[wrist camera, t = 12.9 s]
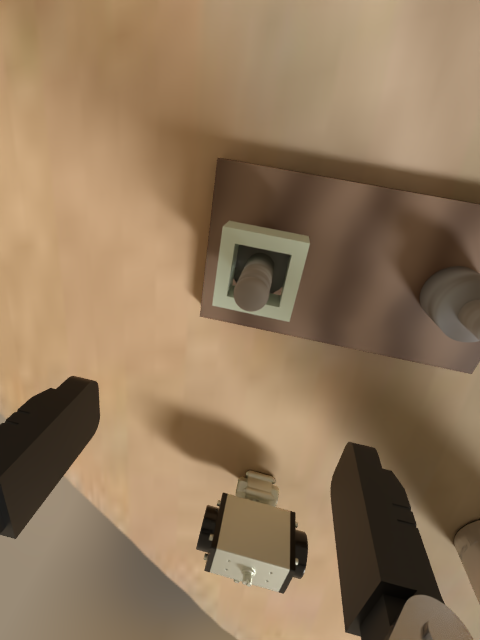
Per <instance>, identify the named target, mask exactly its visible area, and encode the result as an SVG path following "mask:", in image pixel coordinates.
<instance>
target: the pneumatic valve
mask: <svg viewBox="0 0 480 640" xmlns="http://www.w3.org/2000/svg"><path fill="white" fill-rule="evenodd" d="M246 476H247V478H244V477H240V478H239V480H238V484H237V489H236V496H234V495H230V494H226V493H223V494H222V497H221V501H220V500H218V502H217V506H219V508H217V507H213V506H210V505H207V507H206V511H205V515H204V519H203V523H202V527H201V531H200V535H199V539H198V543H197V547H196V549H197V550H200V551H204V552H207V553H208V554H206V553H205V556H204V560H207V561H206V566H205V570H204V571H207V572H211V573H214V574H217V575H221V576H224V577H228V578H231V579H234V582H235V583H239V582H240V581H242V583H243V584H244V585H245V584H246V585H247V586H249V587H250V586H251V585H255V586H259V587H262V588H266V589H269V590H273V591H276V592H280V593H283V594H284V592H285V590H286V589H287V587H288V585H289V583H290V581H291V579H292V577H295V578H298V579H301V578H302V577H303V575H304V572H305V568H306V563H307V554H308V541H307V535H306V533H305V532H303V531H299V530H296V529H295V527H296V528H297V526H298V522H295V512H292V511H288V510H284V509H281V508H277V507H275V506H276V504H277V501H278V495H279V488H278V487H277V486H274V485H272V484H274V483H275V482H276V480H275V479H274V478H273V476H269V475H265V474H262V473H258V472H254V471H251V470H249V471H247V472H246Z"/></svg>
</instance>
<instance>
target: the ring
mask: <svg viewBox="0 0 480 640" xmlns="http://www.w3.org/2000/svg"><path fill="white" fill-rule="evenodd" d="M239 244H240V245H245V246H250V247H255V248H260V249H265V250H270V251H275V252H280V253H285V254H290V257H289V262H288V266H287V270H286V274H285V278H284V283H283V287H282V291H281V295H277V294H272V293H269V298H268V301H267V303H266V304H265V306H264V307H263V308H261V309H260V310H257V311H253V312H249V311H245V310H243V309H241V308H240V307H239V306H238V305H237V304H236V302H235V300H234V295H233V293H234V288H235V286H234V285H233V278H234V272H235V266H236V260H237V254H238V247H239ZM309 246H310V241H309V236H306V235H300V234H295V233H290V232H285V231H280V230H275V229H270V228H265V227H259V226H254V225H249V224H244V223H239V222H234V221H228V222H227V223H226V224H225V225H224V226H223V228H222V236H221V243H220V250H219V258H218V265H217V273H216V280H215V288H214V295H213V303H212V306H217V307H221V308H226V309H231V310H235V311H240V312H245V313H249V314H254V315H259V316H264V317H268V318H273V319H278V320H282V321H287V322H290V318H291V314H292V310H293V307H294V303H295V299H296V295H297V291H298V288H299V284H300V280H301V276H302V272H303V269H304V265H305V261H306V257H307V253H308V249H309Z"/></svg>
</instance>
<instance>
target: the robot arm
mask: <svg viewBox="0 0 480 640" xmlns="http://www.w3.org/2000/svg"><path fill="white" fill-rule="evenodd" d="M99 420H100V408H99V388H98V383H97V382H96V381H93V380H89V379H84V378H80V377H76V376H71V377H69V378H68V379H67V380H66V381H64V382H63V383H62V384H61V385H60V386H59V387H58V388H57V389H52V388H49V389H47V390H45V391H43V392H41V393H39V394H37V395H35V396H33V397H32V398H30V399H29V400H28V401H27V402H26V403H25V404H24V405H22V406H21V407H20V408H19V409H18V411H17V412H14V413H13V414H12V415H11V416H10V417H9V418H8V419H6V421H5V423H2V424H1V425H0V535H3V536H7V537H11V538H14V539H16V538H17V537H18V535H19V534H20V533H21V531H22V530H23V529H24V527H25V526H26V525H27V523H28V522H29V520H30V519H31V518H32V517H33V515H34V514H35V512H36V511H37V510H38V509H39V507H40V506H41V505H42V503H43V502H44V501H45V499H46V498H47V497H48V495H49V494H50V493H51V491H52V490H53V489H54V487H55V486H56V485H57V483H58V482H59V481H60V479H61V478H62V477H63V475H64V474H65V473H66V471H67V470H68V469H69V467H70V466H71V465H72V463H73V462H74V461H75V459H76V458H77V457H78V455H79V454H80V453H81V452H82V450H83V449H84V448H85V446H86V445H87V444H88V442H89V441H90V440H91V438H92V437H93V435H94V434H95V432H96V430H97V427H98V424H99ZM331 504H332V513H333V522H334V532H335V541H336V550H337V559H338V568H339V578H340V587H341V596H342V605H343V614H344V623H345V632H346V633H350V634H354V635H357V636H361V640H473V638H472V636H471V634H470V633H469V631H468V629H467V628H466V627H465V625H464V624H463V622H462V621H461V620H460V619H459V618H458V616H457V615H456V614H455V613H454V612H453V611H452V610H451V609H449V608H448V607H447V606H446V605H445V603H444V601H443V599H442V597H441V594H440V591H439V588H438V586H437V583H436V580H435V577H434V574H433V571H432V568H431V565H430V562H429V559H428V556H427V553H426V550H425V548H424V545H423V542H422V539H421V536H420V533H419V530H418V528H416V521H415V518H414V515H413V512H411V507H410V504H409V501H408V498H407V495H406V492H405V489H404V487H403V486H402V485H401V483H400V482H399V480H398V479H397V478H396V476H395V475H394V473H393V472H392V471H390V470H386V469H382V466H381V463H380V459H379V456H378V453H377V450H376V449H375V448H373V447H369V446H364V445H360V444H356V443H352V442H348V443H347V445H346V446H345V449H344V451H343V453H342V456H341V458H340V460H339V462H338V465H337V467H336V469H335V472H334V474H333V477H332V481H331ZM454 544H455V547H456V550H457V552H458V555H459V557H460V559H461V562H462V564H463V566H464V569H465V571H466V573H467V576H468V578H469V581H470V583H471V585H472V588H473V590H474V592H475V595H476V597H477V599H478V602H479V604H480V520H479V521H475V522H473V523H470V524H468V525H466V526H465V527H463V528H461V529H460V530H459V531H458V532H457V534H456V536H455V539H454Z"/></svg>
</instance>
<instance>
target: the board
mask: <svg viewBox="0 0 480 640" xmlns="http://www.w3.org/2000/svg"><path fill="white" fill-rule="evenodd" d="M228 221H234V222H239V223H244V224H249V225H254V226H259V227H265V228H270V229H275V230H280V231H285V232H290V233H295V234H300V235H306V236H309V241H310V246H309V249H308V253H307V257H306V261H305V265H304V269H303V272H302V276H301V280H300V284H299V288H298V291H297V295H296V299H295V303H294V307H293V310H292V314H291V318H290V322H287V321H282V320H278V319H273V318H268V317H264V316H259V315H254V314H249V313H245V312H240V311H235V310H231V309H226V308H221V307H217V306H212V303H213V295H214V288H215V280H216V273H217V265H218V258H219V250H220V243H221V236H222V228H223V226H224V225H225V224H226V223H227V222H228ZM289 257H290V254H285V253H280V252H275V251H270V250H265V249H260V248H255V247H250V246H245V245H240V244H239V247H238V254H237V260H236V266H235V272H234V278H233V285H234V286H235V288H234V293H233V295H234V300H235V302H236V304H237V305H238V306H239V307H240V308H241V309H243V310H245V311H249V312H253V311H257V310H260V309H261V308H263V307H264V306H265V304H266V303H267V301H268V298H269V293H272V294H277V295H281V291H282V287H283V283H284V278H285V274H286V270H287V266H288V262H289ZM200 317H205V318H210V319H215V320H219V321H224V322H229V323H233V324H238V325H243V326H248V327H252V328H257V329H262V330H266V331H271V332H276V333H280V334H285V335H290V336H295V337H299V338H304V339H309V340H313V341H318V342H323V343H328V344H332V345H337V346H342V347H346V348H351V349H356V350H361V351H365V352H370V353H375V354H379V355H384V356H389V357H394V358H398V359H403V360H408V361H412V362H417V363H422V364H427V365H431V366H436V367H441V368H445V369H450V370H455V371H460V372H464V373H469V374H472V373H473V371H474V369H475V368H476V366H477V364H478V363H479V361H480V204H475V203H470V202H464V201H459V200H453V199H447V198H442V197H436V196H430V195H425V194H419V193H414V192H408V191H402V190H397V189H391V188H385V187H380V186H374V185H369V184H363V183H357V182H352V181H346V180H341V179H335V178H329V177H324V176H318V175H312V174H307V173H301V172H296V171H290V170H284V169H279V168H273V167H268V166H262V165H256V164H251V163H245V162H239V161H234V160H228V159H223V158H218V159H217V168H216V177H215V186H214V195H213V204H212V213H211V222H210V231H209V239H208V248H207V257H206V266H205V275H204V284H203V293H202V302H201V311H200Z"/></svg>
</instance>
